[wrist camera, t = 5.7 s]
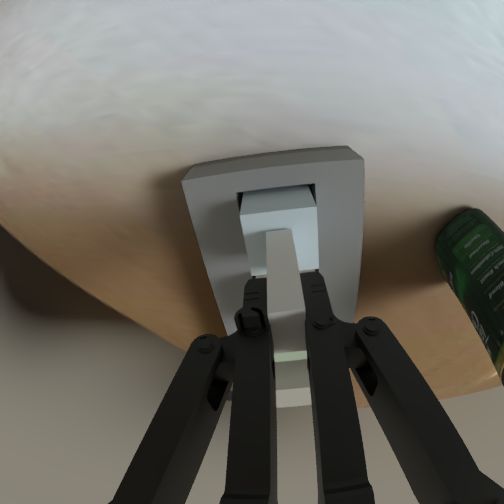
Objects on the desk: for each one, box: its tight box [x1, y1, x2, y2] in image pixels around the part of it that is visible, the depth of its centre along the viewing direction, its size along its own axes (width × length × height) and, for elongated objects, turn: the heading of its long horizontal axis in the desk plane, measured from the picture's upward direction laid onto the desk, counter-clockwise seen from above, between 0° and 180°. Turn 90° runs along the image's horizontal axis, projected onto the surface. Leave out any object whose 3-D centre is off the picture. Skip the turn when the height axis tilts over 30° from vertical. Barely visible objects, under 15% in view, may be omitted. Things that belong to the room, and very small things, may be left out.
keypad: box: [181, 146, 365, 335], centre depth 26 cm, size 26×12×4 cm, turn 9°
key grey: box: [275, 359, 312, 408], centre depth 27 cm, size 4×4×4 cm
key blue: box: [240, 184, 319, 276], centre depth 19 cm, size 4×4×4 cm
